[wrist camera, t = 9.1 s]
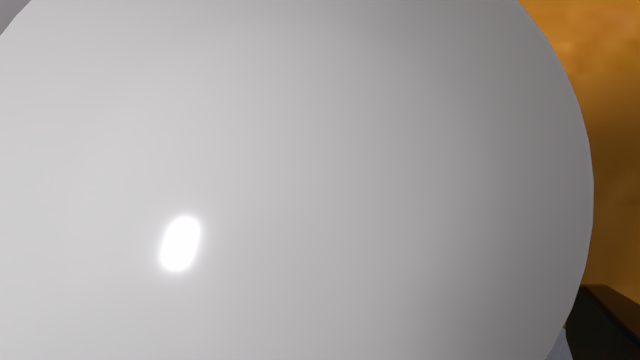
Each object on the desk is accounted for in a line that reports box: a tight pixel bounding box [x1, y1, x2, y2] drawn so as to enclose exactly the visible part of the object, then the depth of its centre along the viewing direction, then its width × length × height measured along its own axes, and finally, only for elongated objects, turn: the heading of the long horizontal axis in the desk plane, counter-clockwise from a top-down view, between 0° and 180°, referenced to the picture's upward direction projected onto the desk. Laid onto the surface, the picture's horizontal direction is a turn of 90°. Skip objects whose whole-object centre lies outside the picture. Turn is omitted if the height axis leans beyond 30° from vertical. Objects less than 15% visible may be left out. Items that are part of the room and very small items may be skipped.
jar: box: [0, 0, 594, 360], centre depth 11 cm, size 6×6×13 cm
